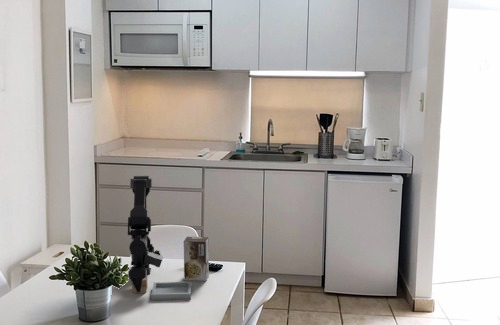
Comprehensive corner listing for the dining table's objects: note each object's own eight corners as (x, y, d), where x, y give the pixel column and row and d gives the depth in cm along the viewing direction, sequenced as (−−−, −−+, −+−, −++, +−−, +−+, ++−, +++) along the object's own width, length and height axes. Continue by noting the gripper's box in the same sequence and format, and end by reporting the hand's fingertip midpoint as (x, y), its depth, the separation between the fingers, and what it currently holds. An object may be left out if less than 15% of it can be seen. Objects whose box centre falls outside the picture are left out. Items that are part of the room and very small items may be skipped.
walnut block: (134, 288, 214) (133, 275, 213) (147, 287, 214) (147, 275, 214) (132, 293, 209) (132, 280, 208) (146, 292, 209) (145, 280, 209)
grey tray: (153, 287, 214) (153, 282, 214) (191, 287, 215) (191, 281, 215) (151, 300, 202) (151, 294, 202) (190, 299, 203) (190, 293, 203)
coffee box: (209, 275, 228) (209, 236, 226) (206, 281, 222) (206, 241, 219) (186, 274, 229) (186, 235, 226) (183, 280, 223) (183, 240, 220)
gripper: (159, 254, 201) (160, 296, 203) (162, 239, 219) (163, 278, 221) (127, 255, 200) (128, 297, 202) (133, 239, 218) (134, 278, 220)
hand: (140, 287), depth 211 cm, fingers open, 9 cm apart
